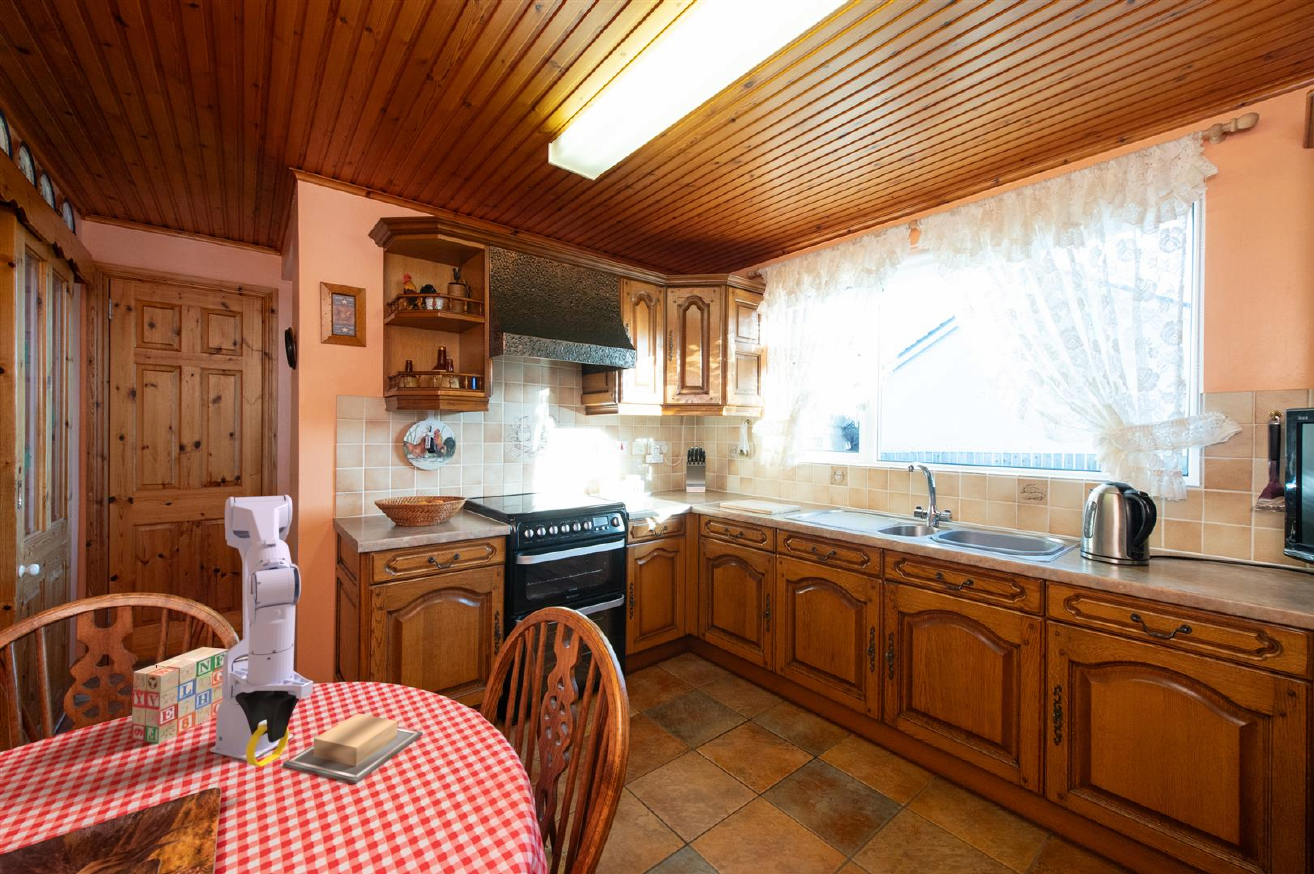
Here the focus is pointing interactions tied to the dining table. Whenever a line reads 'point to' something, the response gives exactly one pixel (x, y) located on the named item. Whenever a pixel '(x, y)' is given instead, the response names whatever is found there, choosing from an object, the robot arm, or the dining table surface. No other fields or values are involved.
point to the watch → (254, 740)
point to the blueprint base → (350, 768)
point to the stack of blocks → (177, 694)
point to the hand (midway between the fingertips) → (268, 737)
